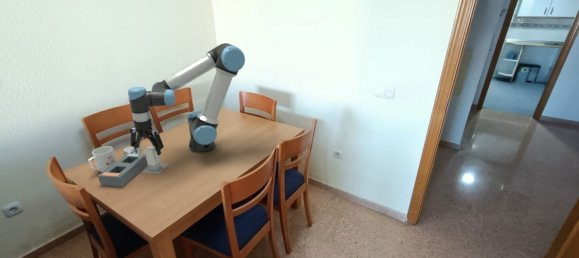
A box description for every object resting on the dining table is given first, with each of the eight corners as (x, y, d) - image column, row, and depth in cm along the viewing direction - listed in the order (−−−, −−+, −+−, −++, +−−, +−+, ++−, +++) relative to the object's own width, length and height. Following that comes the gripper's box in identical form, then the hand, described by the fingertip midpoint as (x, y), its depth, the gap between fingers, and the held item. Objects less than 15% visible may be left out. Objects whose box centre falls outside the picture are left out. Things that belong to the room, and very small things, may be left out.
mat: (169, 164, 145) (168, 163, 145) (159, 175, 136) (158, 174, 136) (151, 163, 146) (151, 162, 146) (140, 173, 137) (140, 172, 137)
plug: (160, 166, 142) (156, 146, 137) (156, 170, 139) (151, 150, 134) (153, 165, 143) (148, 146, 138) (149, 169, 139) (144, 149, 134)
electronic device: (127, 134, 156) (140, 141, 148) (132, 149, 160) (145, 156, 152) (118, 138, 153) (130, 145, 144) (122, 153, 157) (135, 160, 148)
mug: (110, 162, 146) (104, 144, 141) (122, 166, 143) (116, 147, 139) (88, 174, 136) (81, 155, 131) (100, 178, 133) (93, 159, 128)
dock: (148, 164, 145) (146, 154, 142) (123, 188, 126) (119, 177, 123) (129, 162, 146) (127, 152, 143) (101, 186, 127) (97, 175, 125)
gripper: (167, 118, 132) (173, 157, 141) (126, 114, 133) (134, 153, 143) (159, 124, 125) (165, 165, 134) (115, 119, 126) (125, 160, 136)
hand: (149, 159), depth 139 cm, fingers open, 9 cm apart
